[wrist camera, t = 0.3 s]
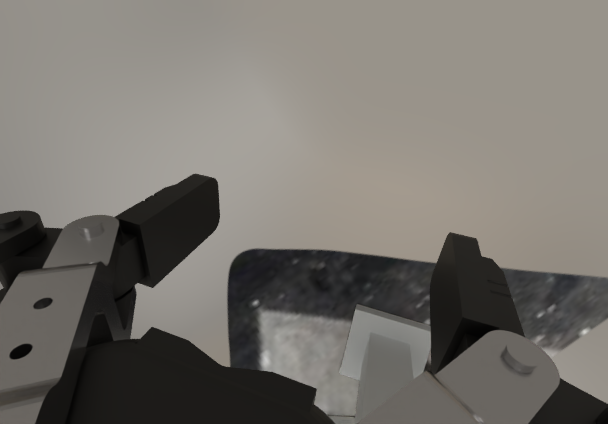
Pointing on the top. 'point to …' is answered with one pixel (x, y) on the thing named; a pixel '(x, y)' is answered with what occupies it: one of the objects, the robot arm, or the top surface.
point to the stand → (383, 355)
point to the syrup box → (343, 419)
